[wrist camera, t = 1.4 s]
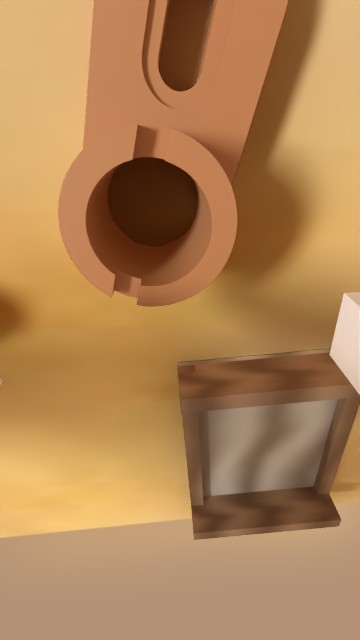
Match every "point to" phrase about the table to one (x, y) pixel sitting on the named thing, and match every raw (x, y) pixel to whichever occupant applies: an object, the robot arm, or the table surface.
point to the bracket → (164, 142)
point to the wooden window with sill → (264, 441)
